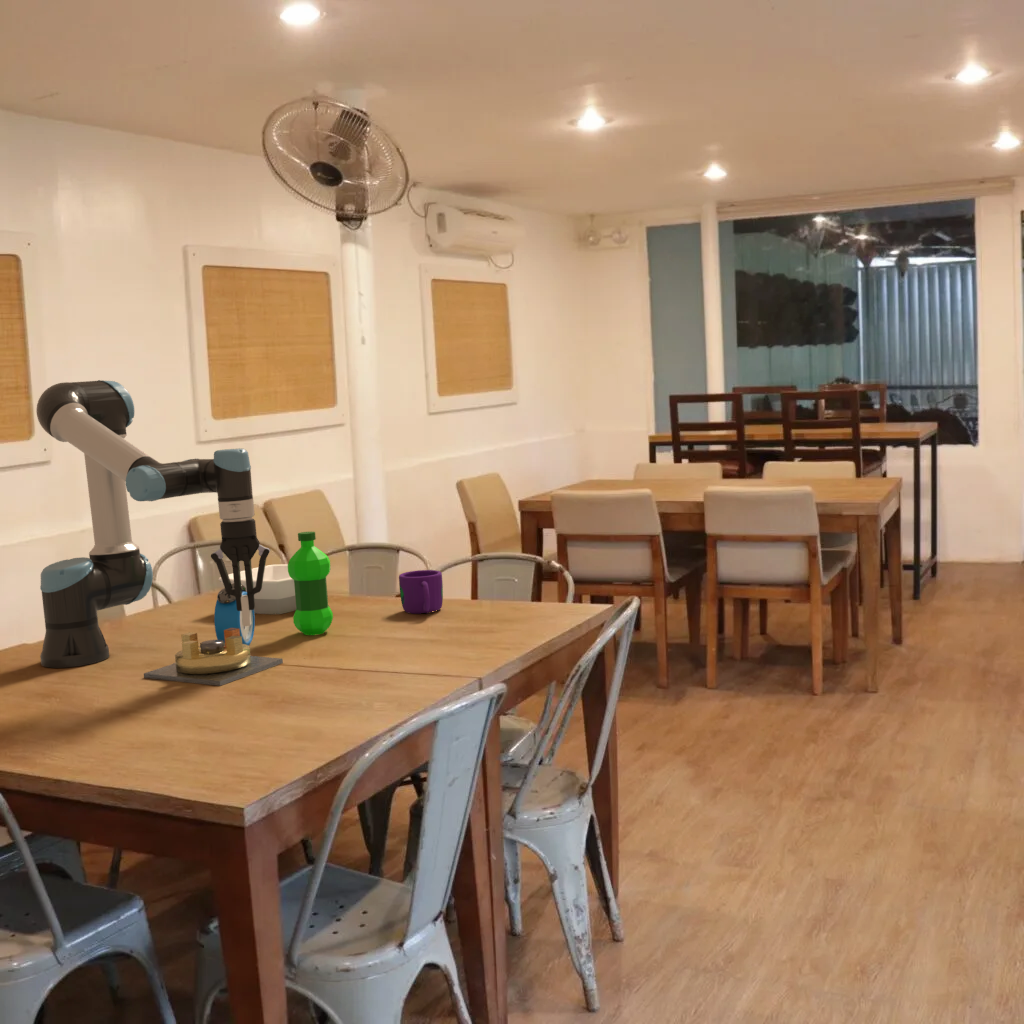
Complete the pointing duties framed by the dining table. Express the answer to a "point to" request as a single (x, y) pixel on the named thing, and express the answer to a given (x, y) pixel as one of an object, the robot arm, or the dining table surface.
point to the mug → (421, 591)
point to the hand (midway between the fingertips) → (247, 624)
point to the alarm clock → (231, 616)
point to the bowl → (272, 590)
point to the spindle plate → (214, 678)
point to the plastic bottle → (310, 586)
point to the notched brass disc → (212, 654)
